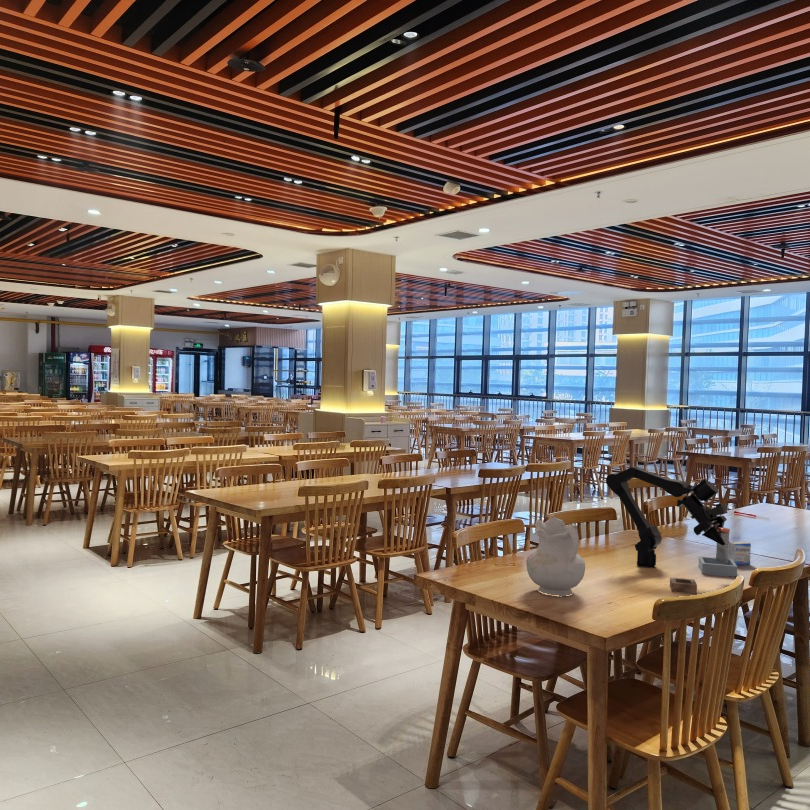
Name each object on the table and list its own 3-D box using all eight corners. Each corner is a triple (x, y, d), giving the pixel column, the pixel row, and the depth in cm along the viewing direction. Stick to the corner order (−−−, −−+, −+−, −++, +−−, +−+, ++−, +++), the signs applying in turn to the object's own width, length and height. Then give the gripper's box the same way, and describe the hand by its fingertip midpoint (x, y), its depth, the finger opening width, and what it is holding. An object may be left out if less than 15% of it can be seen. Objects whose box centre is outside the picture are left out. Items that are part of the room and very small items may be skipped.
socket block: (671, 591, 240) (671, 582, 239) (669, 585, 247) (670, 577, 247) (696, 594, 237) (697, 585, 237) (694, 587, 245) (694, 579, 245)
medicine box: (733, 565, 278) (734, 544, 278) (725, 562, 283) (726, 541, 282) (750, 564, 281) (751, 543, 280) (742, 562, 285) (743, 540, 285)
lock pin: (722, 563, 253) (724, 530, 252) (713, 560, 256) (714, 527, 256) (730, 562, 255) (732, 529, 254) (720, 559, 258) (722, 527, 258)
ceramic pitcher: (601, 601, 230) (607, 525, 231) (558, 605, 219) (565, 525, 220) (553, 585, 248) (559, 514, 249) (512, 588, 238) (518, 514, 238)
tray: (702, 574, 264) (702, 563, 264) (698, 566, 276) (698, 556, 276) (736, 577, 261) (737, 566, 261) (731, 569, 272) (732, 559, 272)
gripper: (704, 498, 251) (734, 534, 244) (722, 493, 264) (752, 527, 257) (681, 517, 256) (710, 552, 249) (700, 511, 270) (728, 545, 263)
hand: (726, 544), depth 254 cm, fingers closed on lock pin, 4 cm apart
